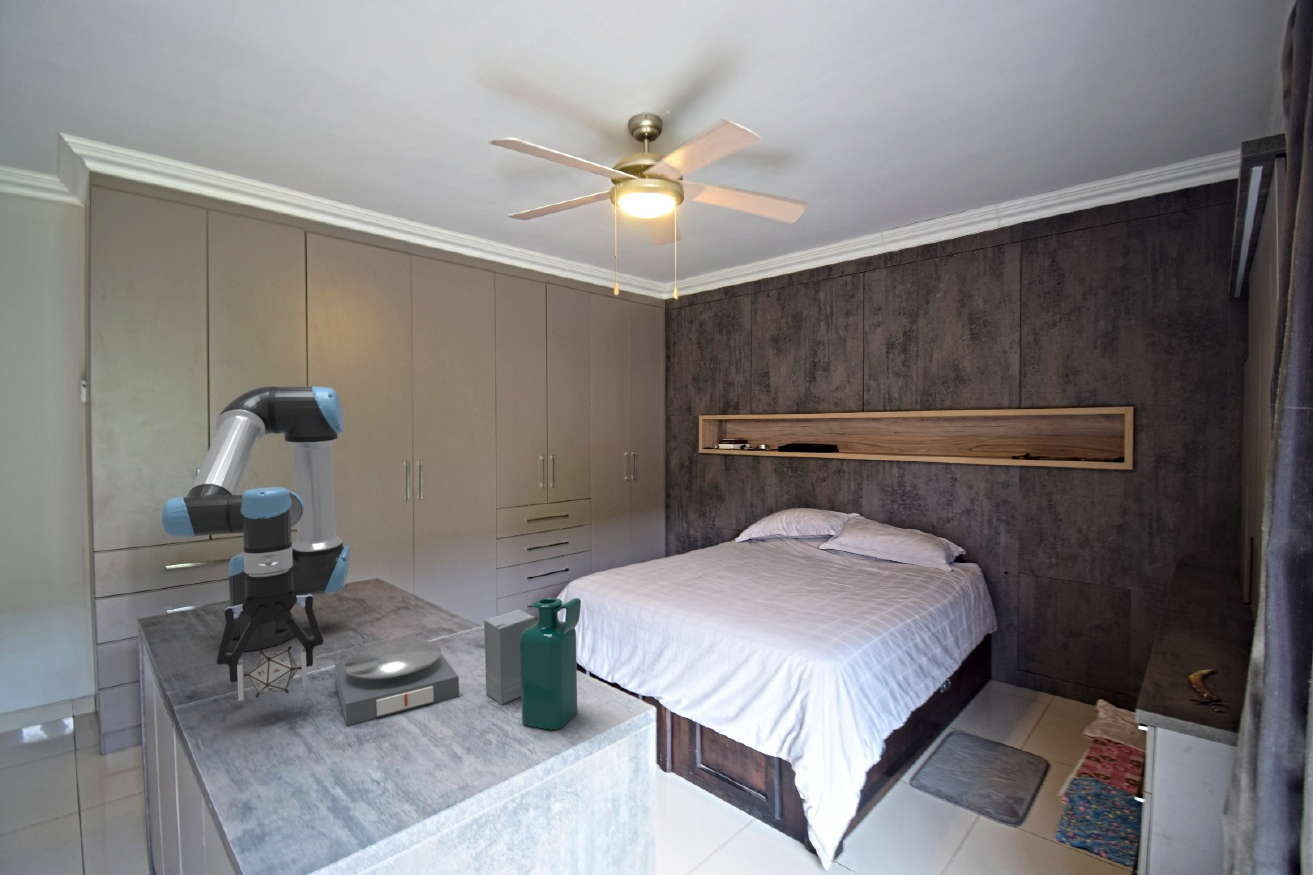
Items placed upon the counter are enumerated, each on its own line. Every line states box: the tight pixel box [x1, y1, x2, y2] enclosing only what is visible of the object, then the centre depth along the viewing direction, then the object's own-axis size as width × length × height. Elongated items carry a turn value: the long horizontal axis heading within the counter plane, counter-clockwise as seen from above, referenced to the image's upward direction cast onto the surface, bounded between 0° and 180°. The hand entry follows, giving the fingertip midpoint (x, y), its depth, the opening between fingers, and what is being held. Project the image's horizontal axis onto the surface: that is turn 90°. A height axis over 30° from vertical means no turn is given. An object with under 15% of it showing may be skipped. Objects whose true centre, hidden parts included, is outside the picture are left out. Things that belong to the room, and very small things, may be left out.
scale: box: [334, 653, 460, 727], centre depth 121 cm, size 23×20×4 cm
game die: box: [243, 645, 301, 699], centre depth 110 cm, size 9×8×10 cm
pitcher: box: [520, 597, 582, 731], centre depth 108 cm, size 10×8×22 cm
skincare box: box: [483, 608, 536, 705], centre depth 118 cm, size 8×7×16 cm
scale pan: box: [345, 639, 442, 679], centre depth 121 cm, size 18×18×2 cm
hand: (273, 690), depth 110 cm, fingers closed on game die, 9 cm apart
